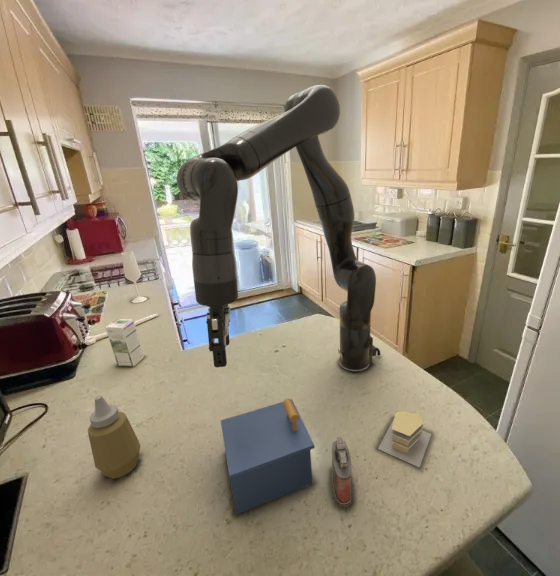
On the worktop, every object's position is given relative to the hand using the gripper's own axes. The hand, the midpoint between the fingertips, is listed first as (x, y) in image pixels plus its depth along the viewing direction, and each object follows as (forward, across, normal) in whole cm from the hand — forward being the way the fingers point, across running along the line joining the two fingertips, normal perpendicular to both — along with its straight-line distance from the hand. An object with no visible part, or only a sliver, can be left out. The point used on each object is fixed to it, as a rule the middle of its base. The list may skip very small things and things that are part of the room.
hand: (222, 354), depth 61 cm
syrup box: (+24, +44, +34) cm, 60 cm away
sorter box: (+24, -7, -8) cm, 26 cm away
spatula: (+23, +70, +45) cm, 86 cm away
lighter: (+23, -14, -21) cm, 35 cm away
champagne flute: (+21, +102, +49) cm, 115 cm away
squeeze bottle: (+25, +1, +22) cm, 33 cm away
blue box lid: (+15, -7, -7) cm, 18 cm away
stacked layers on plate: (+22, -7, -38) cm, 45 cm away
